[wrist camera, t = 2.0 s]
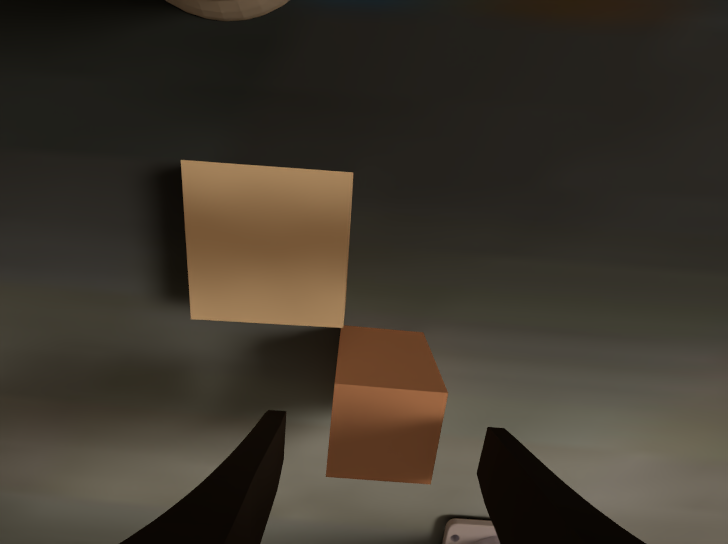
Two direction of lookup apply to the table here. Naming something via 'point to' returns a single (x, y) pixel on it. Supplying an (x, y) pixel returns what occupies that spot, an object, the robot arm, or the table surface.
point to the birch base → (267, 243)
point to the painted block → (385, 407)
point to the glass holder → (228, 8)
